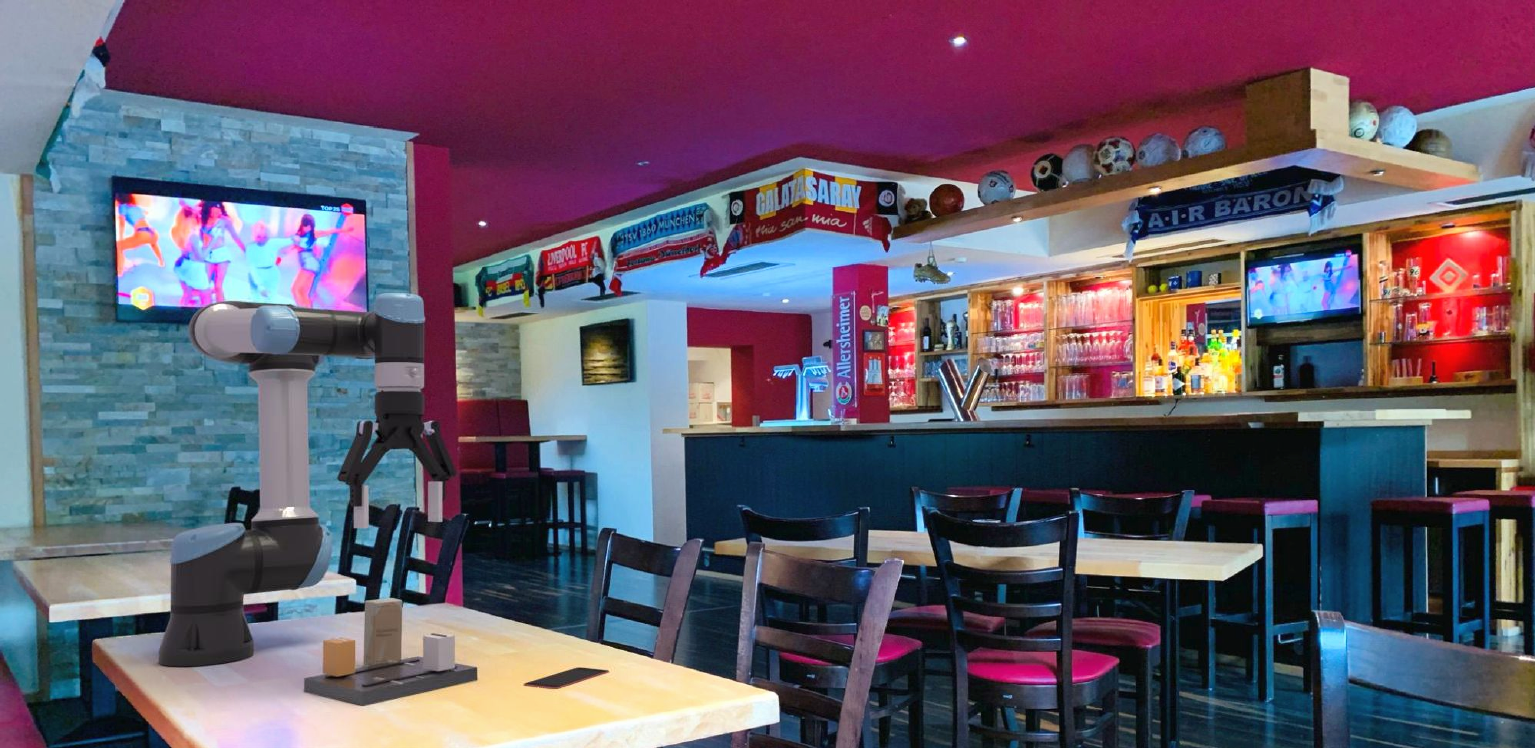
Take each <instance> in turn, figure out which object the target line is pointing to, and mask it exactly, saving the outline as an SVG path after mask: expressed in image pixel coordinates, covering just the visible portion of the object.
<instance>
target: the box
mask: <svg viewBox="0 0 1535 748" xmlns="http://www.w3.org/2000/svg"><path fill="white" fill-rule="evenodd" d="M363 626H364V633H363V635H364V636H363V666H364V665H365V666H370V665H375V664H381V663H386V662H388V660H401V659H402V642H403V641H402V637H403V636H402V634H403V628H402V627H403V600H402V599H400V598H399V599H398V598H395V597H389V598H378V599H371V600H365V601H364V625H363Z"/></svg>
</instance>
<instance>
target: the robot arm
mask: <svg viewBox="0 0 1535 748" xmlns="http://www.w3.org/2000/svg"><path fill="white" fill-rule="evenodd" d="M424 310H425V307H424V300H423V297H421V296H420V295H417V294H413V293H406V292H405V293H404V292H403V293H401V292H389V293H381V294H378V295H376V297H375V301H374V307H373V311H358V310H357V311H356V310H340V309H327V308H324V309H323V308H311V307H308V306H304V305H303V306H301V305H294V304H292V303H289V304H285V303H272V302H271V303H269V302H268V303H267V302H250V301H241V300H224V301H217V302H213V303H209V304H207V305H205V306H203V307H201V308H199V309H198V310H197V311H196V312H195V313H194V314H193V316H192V317H191V320H190V322H189V324H188V336H189V340H190V342H191V343H192V345H193V347H194V348H195V349H196V350H197V351H198V352H199V353H200V354H202V355H203V356H205V357H208V358H210V359H212V360H215V361H217V362H223V363H226V364H227V363H228V364H243V365H244V364H245V365H248V375H249V377H250V378H251V379H252V380H253V381H255V382H256V384H257V394H258V395H257V396H258V397H257V398H258V448H259V449H258V450H259V451H258V452H259V453H258V455H259V457H258V459H259V460H258V461H259V462H258V463H259V506H260V507H259V511H258V513H256V514H255V516H254V517H253V518H252V519H251V529H248V530H247V529H246V527H245V525H244V523H242V522H230V523H223V524H214V525H207V526H206V525H205V526H202V527H197V528H192V529H188V530H186V531H182V532H180V533H178V534H177V535H175V537H174V538H173V540H172V544H171V552H170V558H169V564H170V612H169V613H170V617H169V620H168V623H167V626H166V629H165V632H164V634H163V637H162V640H161V643H160V646H159V649H158V664H159V665H163V666H168V667H195V666H208V665H217V664H218V665H219V664H223V663H230V662H235V661H240V660H242V659H247V658H249V657H251V656H252V655H254V654H255V652H254V650H255V649H254V647H255V646H254V645H255V641H254V638H253V636H252V633H251V630H250V627H249V624H248V622H247V618H246V615H245V613H244V611H245V610H244V599H245V598H244V596H245V595H250V594H251V595H252V594H260V593H271V592H279V591H280V592H281V591H297V590H299V589H304V588H310V587H314V586H316V585H318V584H319V583H320V582H321V581H322V580H323V579H324V578H325V576H326V573H327V572H328V569H329V567H330V563H331V558H332V552H333V551H332V550H333V543H332V542H333V541H332V540H333V539H332V537H331V536H330V534H331V532H330V530H329V529H328V527H327V526H326V525H323V524H322V523H319V522H320V521H319V520H320V519H319V514H318V513H316V512H315V511H314V510H313V509H312V508H311V504H310V503H311V502H310V500H311V499H310V497H311V496H310V495H311V494H310V461H309V460H310V459H309V456H310V455H309V453H310V451H309V420H308V419H309V416H308V414H309V410H308V406H309V405H308V383H309V381H310V379H312V378H313V377H314V376H315V375H316V367H319V366H320V365H322V364H323V363H324V361H325V358H326V356H327V357H329V356H332V357H347V358H348V357H351V358H353V359H356V360H357V359H358V360H362V359H364V360H371V359H374V381H373V382H374V384H373V387H374V389H377V390H378V391H376V392H375V394H374V414H375V417H376V419H375V422H373V421H372V420H359V421H358V422H357V423H356V432H355V436H354V439H353V441H352V443H351V445H350V448H349V450H348V451H347V454H346V456H345V458H344V461H343V463H342V465H341V468H340V470H339V472H338V474H337V481H339V482H342V483H345V485H347V486H349V505H350V507H353V529H364V530H365V529H369V525H370V524H369V522H370V521H369V518H370V516H369V511H370V510H369V507H370V506H369V505H370V503H369V498H370V497H369V496H370V495H369V493H370V492H369V491H370V490H369V487H370V486H369V485H364V483H365V482H366V481H367V479H368V478H369V477H370V475H372V472H373V471H374V470H375V469H376V467H377V465H378V464H379V463H380V462H381V460H382V459H383V458H384V456H385V455H386V454H387V453H388V452H389V451H390V450H409V451H410V452H412V453H413V454H414V456H415V457H416V459H417V460H418V461H419V463H420V464H421V465H422V467H423V468H424V470H425V471H426V472H427V473H428V475H429V476H430V477H431V479H432V481H428V482H427V521H428V522H433V523H442V522H443V501H445V500H446V494H447V493H446V491H447V490H446V486H447V485H446V483H447V482H448V481H450V479H451V478H452V477H453V478H454V477H455V476H456V475H457V470H456V468H455V467H456V466H454V463H453V460H452V457H451V455H450V453H449V451H448V449H447V446H446V444H445V441H444V439H443V436H442V433H441V425H440V422H439V421H438V420H426V421H425V422H424V420H423V415H424V413H425V394H424V393H423V392H422V391H421V390H423V389H424V388H425V329H426V328H425V322H426V317H425V311H424ZM422 434H424V435H425V439H426V440H424V439H423V437H422ZM373 435H376V436H377V437H376V439H375V440H374V441H373V442H372V444H371V448H370V449H369V450H368V452H367V453H366V451H367V449H368V447H369V444H370V442H371V439H372V436H373ZM426 441H427V443H428V444H427V443H426ZM428 446H429V447H430V450H429V448H428ZM365 454H366V455H365Z"/></svg>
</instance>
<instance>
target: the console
mask: <svg viewBox="0 0 1535 748" xmlns="http://www.w3.org/2000/svg"><path fill="white" fill-rule="evenodd" d="M303 680H304V681H303V688H304V689H303V692H304V693H308V694H309V693H310V694H313V695H317V696H321V697H325V698H330V699H332V700H337V701H340V702H345V703H346V702H347V703H350V704H354V705H357V706H362V707H363V706H369V705H373V704H377V703H382V702H386V701H387V702H388V701H390V700H391V701H392V700H394V699H399V698H404V697H409V696H413V695H417V694H423V693H425V692H426V693H427V692H432V691H436V690H439V689H444V688H449V687H453V686H458V685H461V684H465V683H471V682H475V681H478V667H477V666H473V665H467V664H463V663H456V662H455V668H452V669H447V670H442V671H434V670H429V669H424V668H423V656H413V657H407V658H401V660H388V662H386V663H381V664H375V665H370V666H365V665H364V664H363V665H362V666H361V667H355V673H353V674H348V675H343V676H338V677H337V676H332V675H328V674H320V675H315V676H309V677H304V678H303Z"/></svg>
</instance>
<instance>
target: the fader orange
mask: <svg viewBox="0 0 1535 748" xmlns="http://www.w3.org/2000/svg"><path fill="white" fill-rule="evenodd" d="M322 642H323V643H322V665H323V666H322V675H324V674H328V675H332V676H337V677H338V676H343V675H348V674H353V673H355V668H356V639H351V638H346V637H332V638H331V639H324V640H323V641H322Z"/></svg>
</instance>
